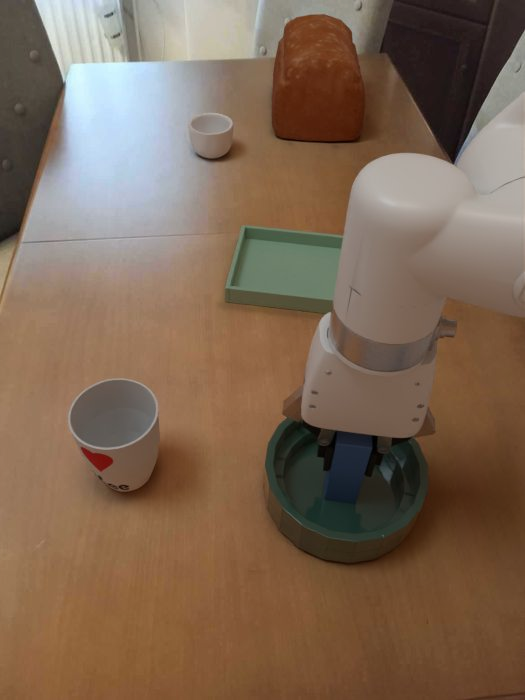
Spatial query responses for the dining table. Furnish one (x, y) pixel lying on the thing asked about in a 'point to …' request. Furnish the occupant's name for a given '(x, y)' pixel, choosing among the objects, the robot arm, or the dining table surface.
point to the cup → (117, 431)
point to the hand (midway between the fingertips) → (347, 459)
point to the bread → (317, 82)
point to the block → (347, 466)
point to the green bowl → (334, 516)
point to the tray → (284, 269)
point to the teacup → (211, 134)
